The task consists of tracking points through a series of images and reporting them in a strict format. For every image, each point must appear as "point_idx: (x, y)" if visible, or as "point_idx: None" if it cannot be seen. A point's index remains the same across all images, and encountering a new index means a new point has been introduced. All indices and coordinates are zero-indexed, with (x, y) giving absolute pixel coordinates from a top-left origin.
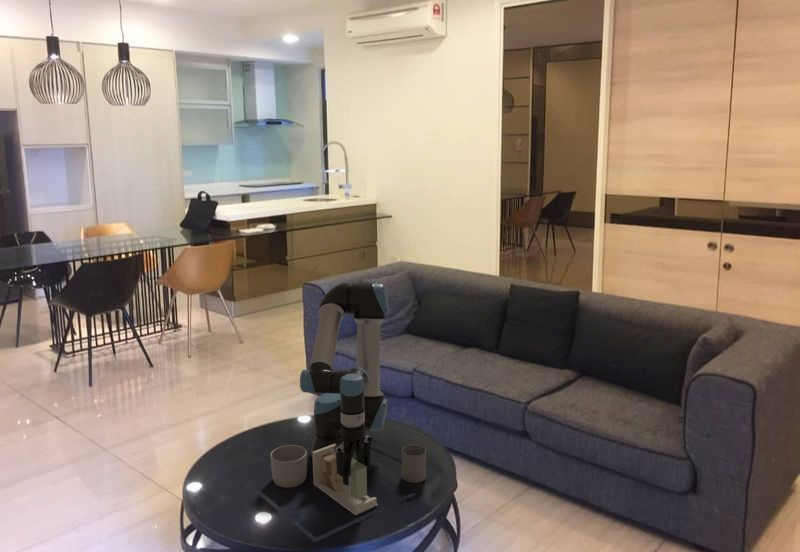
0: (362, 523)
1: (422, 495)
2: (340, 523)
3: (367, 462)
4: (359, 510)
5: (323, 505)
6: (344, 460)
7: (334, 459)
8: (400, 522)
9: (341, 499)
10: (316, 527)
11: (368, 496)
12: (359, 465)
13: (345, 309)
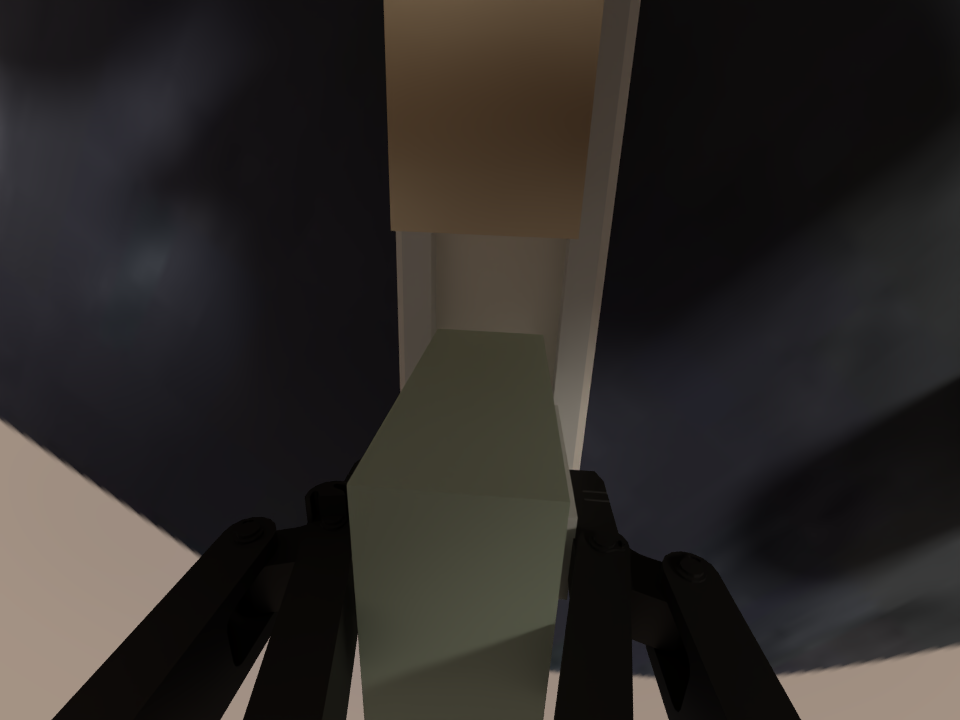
0: None
1: (853, 580)
2: (315, 464)
3: (660, 684)
4: None
5: (324, 249)
6: (255, 710)
7: (507, 40)
8: (557, 642)
9: (407, 353)
10: (187, 405)
11: (574, 448)
12: (487, 718)
13: None
